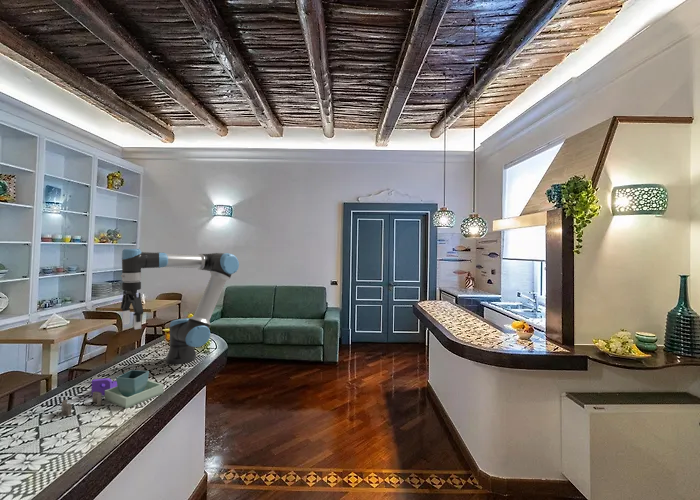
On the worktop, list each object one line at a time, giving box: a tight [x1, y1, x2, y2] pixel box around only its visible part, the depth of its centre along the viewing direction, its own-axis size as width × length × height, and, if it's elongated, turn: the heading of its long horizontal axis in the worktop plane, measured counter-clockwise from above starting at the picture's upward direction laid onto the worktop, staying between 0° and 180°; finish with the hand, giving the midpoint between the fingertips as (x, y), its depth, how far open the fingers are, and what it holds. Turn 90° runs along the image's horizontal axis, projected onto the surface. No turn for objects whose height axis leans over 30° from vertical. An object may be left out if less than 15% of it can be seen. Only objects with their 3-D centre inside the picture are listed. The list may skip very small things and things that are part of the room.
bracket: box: [91, 377, 117, 396], centre depth 153 cm, size 12×7×7 cm, turn 17°
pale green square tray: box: [104, 379, 164, 409], centre depth 146 cm, size 16×16×4 cm
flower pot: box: [115, 369, 150, 397], centre depth 146 cm, size 9×9×9 cm
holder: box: [61, 391, 103, 417], centre depth 136 cm, size 12×7×4 cm, turn 142°
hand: (131, 326), depth 160 cm, fingers open, 13 cm apart
